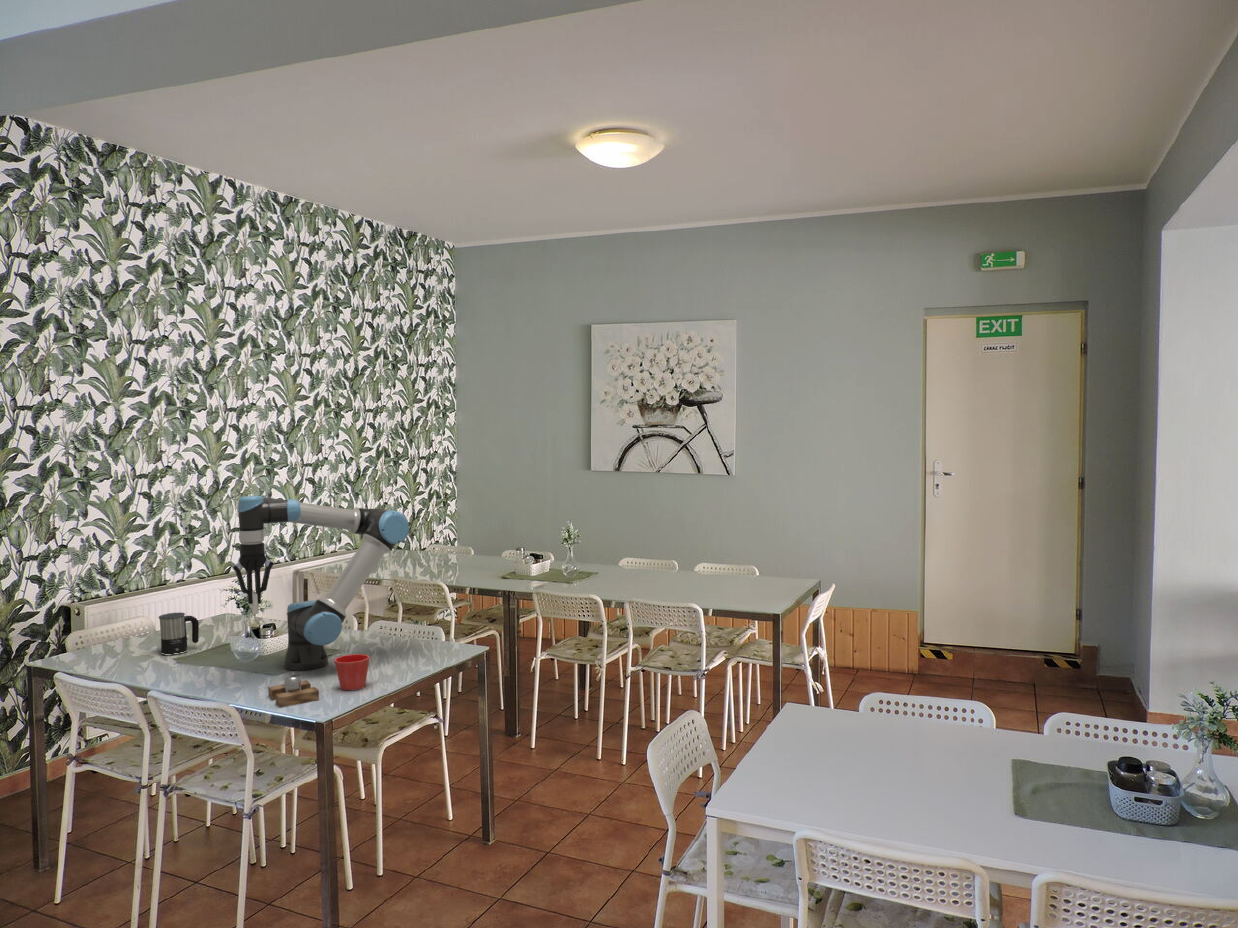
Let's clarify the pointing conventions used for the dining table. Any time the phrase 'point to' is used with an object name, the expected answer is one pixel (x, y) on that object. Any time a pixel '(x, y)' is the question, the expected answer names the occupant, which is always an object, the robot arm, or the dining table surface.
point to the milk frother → (176, 632)
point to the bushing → (292, 683)
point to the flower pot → (352, 671)
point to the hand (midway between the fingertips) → (254, 612)
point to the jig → (293, 694)
